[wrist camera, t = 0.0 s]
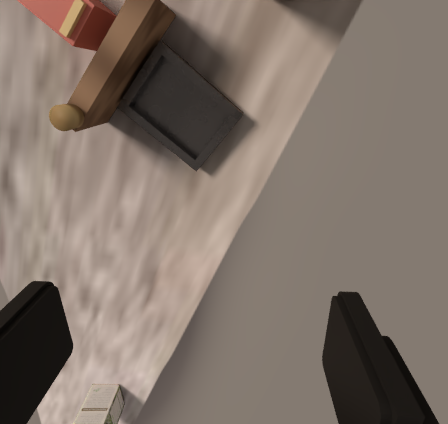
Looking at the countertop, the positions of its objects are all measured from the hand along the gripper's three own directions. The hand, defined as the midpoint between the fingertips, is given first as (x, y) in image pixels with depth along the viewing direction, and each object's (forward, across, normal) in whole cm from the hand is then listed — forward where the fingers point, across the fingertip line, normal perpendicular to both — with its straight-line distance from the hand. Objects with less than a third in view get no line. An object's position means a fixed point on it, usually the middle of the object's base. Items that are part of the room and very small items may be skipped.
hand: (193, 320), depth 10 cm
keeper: (+31, +6, -4) cm, 32 cm away
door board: (+31, +12, -9) cm, 35 cm away
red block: (+31, +17, -15) cm, 39 cm away
